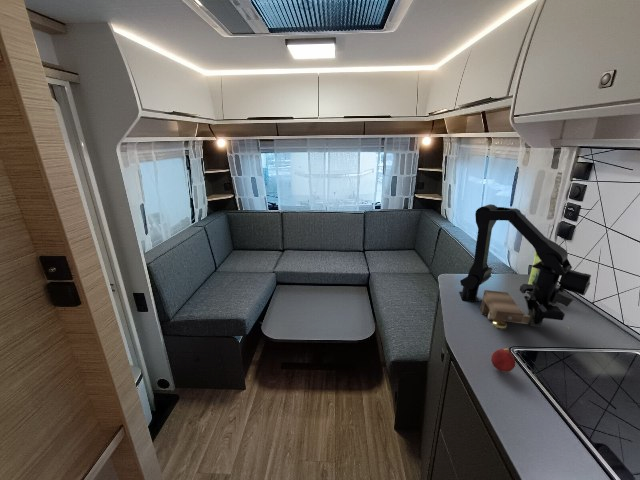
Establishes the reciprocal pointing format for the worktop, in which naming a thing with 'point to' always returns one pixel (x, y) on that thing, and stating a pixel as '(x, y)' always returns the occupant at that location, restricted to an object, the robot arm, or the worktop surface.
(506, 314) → the walnut cabinet
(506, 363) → the onion
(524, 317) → the wooden mallet
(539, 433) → the worktop surface
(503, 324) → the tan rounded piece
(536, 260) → the tube
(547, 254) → the robot arm
